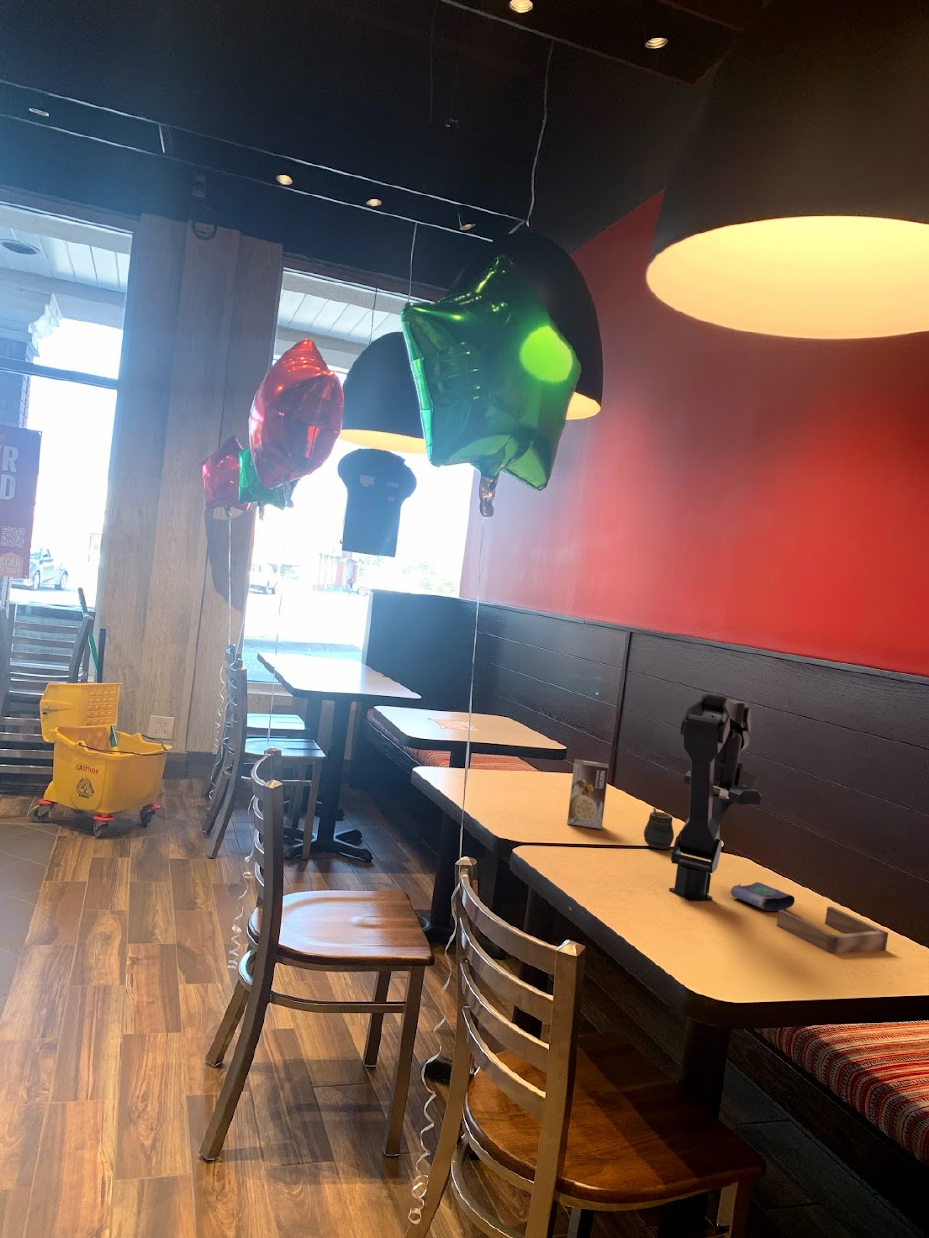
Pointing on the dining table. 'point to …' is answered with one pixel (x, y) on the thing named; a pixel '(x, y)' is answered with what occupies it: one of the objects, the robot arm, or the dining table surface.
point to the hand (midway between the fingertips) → (716, 825)
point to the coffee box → (588, 794)
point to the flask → (763, 896)
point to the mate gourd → (659, 830)
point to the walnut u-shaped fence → (854, 939)
